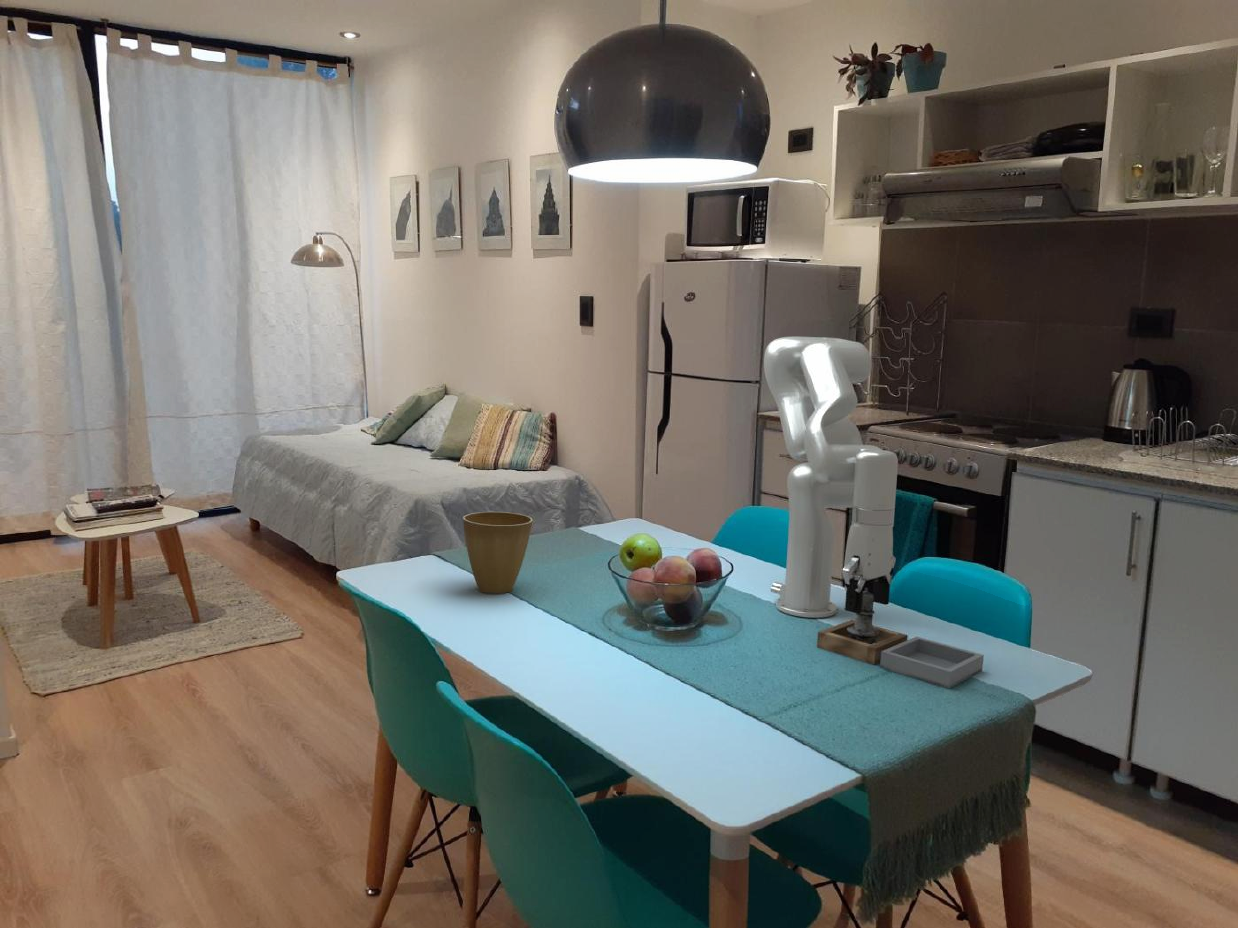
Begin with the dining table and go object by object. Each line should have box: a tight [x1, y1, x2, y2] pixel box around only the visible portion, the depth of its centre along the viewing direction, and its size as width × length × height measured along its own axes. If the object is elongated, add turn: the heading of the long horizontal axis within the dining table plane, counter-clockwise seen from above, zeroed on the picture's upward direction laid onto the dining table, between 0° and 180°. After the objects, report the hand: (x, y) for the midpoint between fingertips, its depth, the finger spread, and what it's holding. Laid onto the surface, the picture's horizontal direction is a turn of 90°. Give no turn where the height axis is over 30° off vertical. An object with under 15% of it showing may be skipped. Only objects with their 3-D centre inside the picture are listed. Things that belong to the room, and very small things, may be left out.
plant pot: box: [462, 511, 533, 595], centre depth 212 cm, size 15×15×16 cm
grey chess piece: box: [847, 586, 879, 645], centre depth 183 cm, size 6×6×12 cm
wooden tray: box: [816, 619, 909, 665], centre depth 184 cm, size 12×12×3 cm
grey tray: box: [879, 636, 985, 689], centre depth 174 cm, size 13×13×3 cm
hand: (867, 607), depth 182 cm, fingers open, 9 cm apart
